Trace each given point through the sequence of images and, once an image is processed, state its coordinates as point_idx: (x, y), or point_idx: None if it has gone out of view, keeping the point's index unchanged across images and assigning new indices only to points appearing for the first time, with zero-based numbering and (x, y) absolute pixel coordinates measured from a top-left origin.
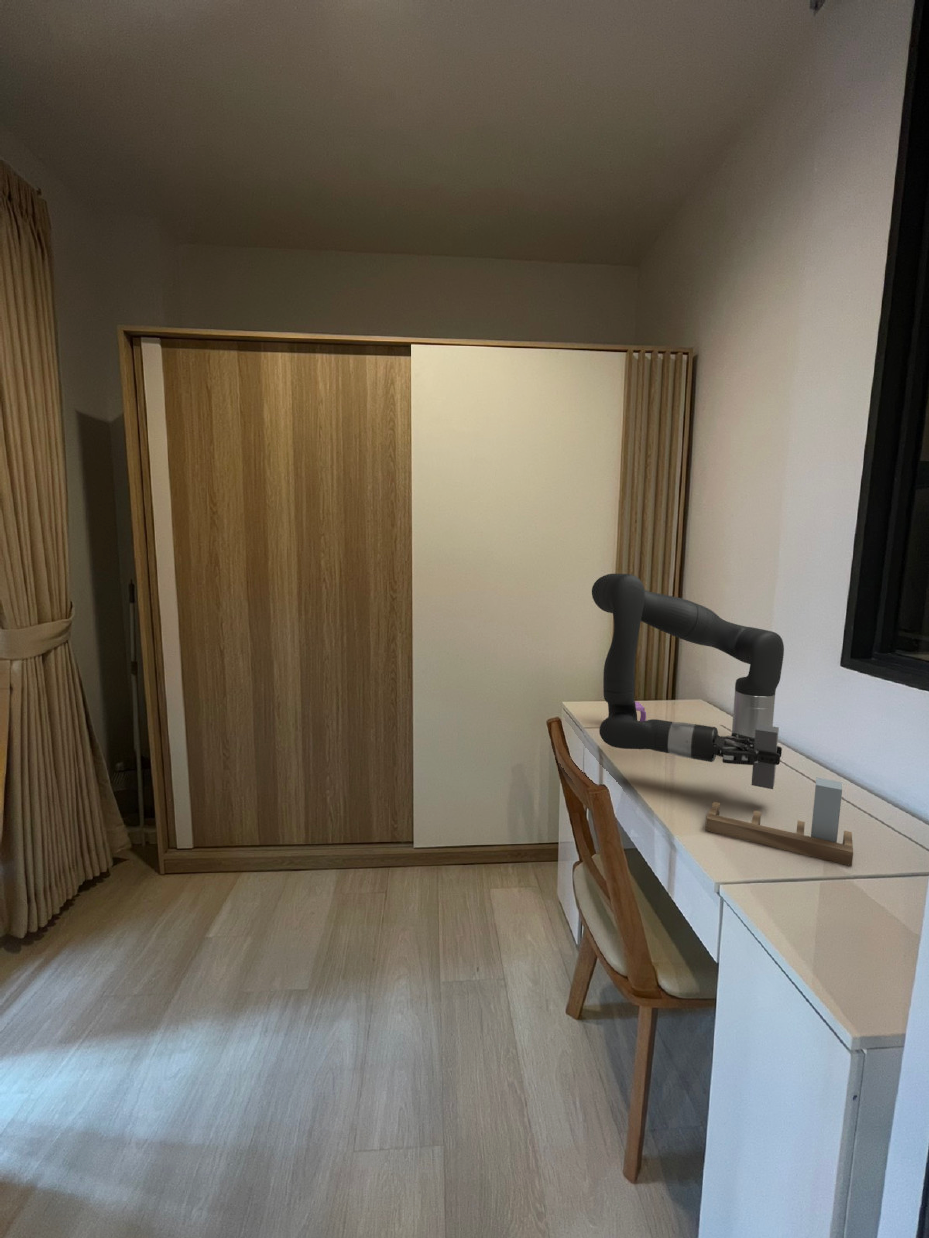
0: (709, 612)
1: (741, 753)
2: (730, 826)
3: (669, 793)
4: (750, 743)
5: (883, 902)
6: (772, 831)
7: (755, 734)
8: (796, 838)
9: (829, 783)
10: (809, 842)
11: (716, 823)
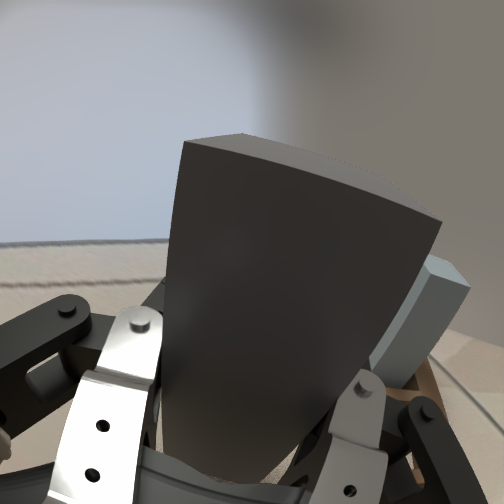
0: None
1: (467, 467)
2: None
3: None
4: (152, 390)
5: (455, 345)
6: None
7: (411, 278)
8: (440, 401)
9: (440, 266)
10: (436, 385)
11: None
